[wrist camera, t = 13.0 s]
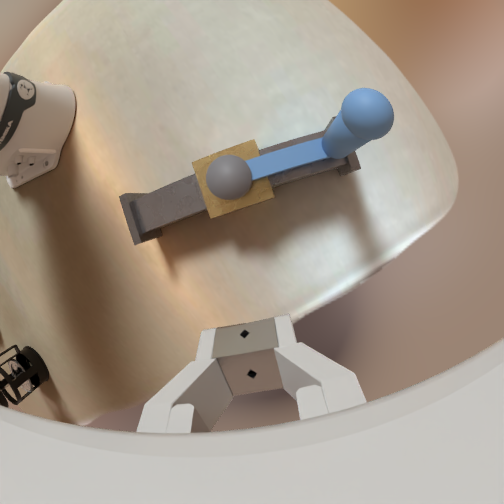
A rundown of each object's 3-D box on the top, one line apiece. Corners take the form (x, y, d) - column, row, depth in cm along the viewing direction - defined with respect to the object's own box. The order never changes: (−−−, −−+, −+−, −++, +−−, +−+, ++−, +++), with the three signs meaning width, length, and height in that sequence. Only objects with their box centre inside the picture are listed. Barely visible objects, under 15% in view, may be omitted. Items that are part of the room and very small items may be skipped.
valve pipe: (156, 239, 36) (135, 247, 30) (142, 194, 35) (118, 195, 29) (347, 175, 32) (361, 170, 26) (330, 127, 31) (340, 113, 25)
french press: (56, 382, 45) (-4, 437, 22) (39, 383, 46) (-15, 430, 24) (30, 336, 43) (-39, 382, 21) (15, 342, 45) (-46, 382, 22)
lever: (218, 205, 28) (166, 211, 15) (205, 166, 28) (146, 142, 14) (355, 162, 26) (413, 136, 13) (341, 123, 25) (385, 69, 12)
